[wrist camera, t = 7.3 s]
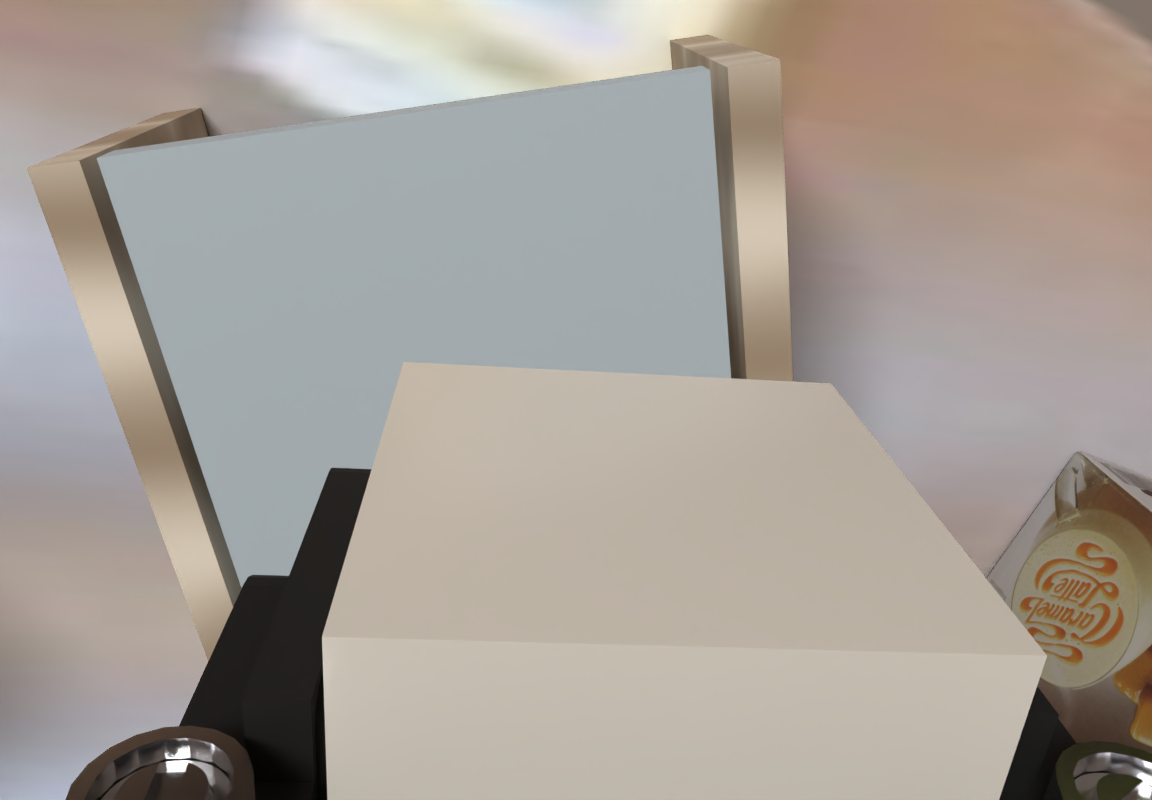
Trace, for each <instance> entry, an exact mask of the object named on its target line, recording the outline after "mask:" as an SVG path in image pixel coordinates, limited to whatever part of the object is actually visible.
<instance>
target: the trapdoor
mask: <svg viewBox="0 0 1152 800" xmlns="http://www.w3.org/2000/svg"><path fill="white" fill-rule="evenodd" d="M97 161H98V164H99V167H100V170H101V173H102V176H103V178H104V181H105V184H106V187H107V190H108V193H109V196H110V199H111V202H112V205H113V208H114V211H115V214H116V217H117V220H118V223H119V226H120V229H121V232H122V235H123V238H124V241H125V244H126V247H127V250H128V253H129V256H130V259H131V262H132V265H133V268H134V271H135V274H136V276H137V279H138V282H139V285H140V288H141V291H142V294H143V297H144V300H145V303H146V306H147V309H148V312H149V315H150V318H151V321H152V324H153V327H154V330H155V333H156V336H157V339H158V342H159V345H160V348H161V351H162V354H163V357H164V360H165V363H166V366H167V369H168V372H169V374H170V377H171V380H172V383H173V386H174V389H175V392H176V395H177V398H178V401H179V404H180V407H181V410H182V413H183V416H184V419H185V422H186V425H187V428H188V431H189V434H190V437H191V440H192V443H193V446H194V449H195V452H196V455H197V458H198V461H199V464H200V467H201V470H202V472H203V475H204V478H205V481H206V484H207V487H208V490H209V493H210V496H211V499H212V502H213V505H214V508H215V511H216V514H217V517H218V520H219V523H220V526H221V529H222V532H223V535H224V538H225V541H226V544H227V547H228V550H229V553H230V556H231V559H232V562H233V565H234V567H235V570H236V573H237V576H238V579H239V582H240V585H241V588H242V586H243V584H244V583H245V581H246V579H247V578H248V577H249V576H251V575H280V576H289V575H290V572H291V569H292V567H293V564H294V562H295V559H296V556H297V554H298V551H299V548H300V546H301V543H302V541H303V538H304V535H305V533H306V530H307V528H308V525H309V522H310V520H311V517H312V514H313V512H314V509H315V507H316V504H317V501H318V499H319V496H320V494H321V491H322V488H323V486H324V483H325V481H326V478H327V475H328V473H329V471H330V469H331V468H354V469H372V466H373V463H374V460H375V456H376V453H377V450H378V446H379V443H380V440H381V436H382V433H383V429H384V426H385V423H386V419H387V416H388V413H389V409H390V406H391V402H392V399H393V396H394V392H395V389H396V386H397V382H398V379H399V376H400V372H401V369H402V365H403V362H415V363H435V364H455V365H475V366H495V367H514V368H534V369H554V370H574V371H594V372H614V373H633V374H653V375H673V376H693V377H713V378H731V369H730V354H729V340H728V325H727V311H726V296H725V281H724V267H723V252H722V238H721V223H720V209H719V194H718V180H717V165H716V151H715V136H714V122H713V107H712V93H711V78H710V70H709V69H707V68H705V67H704V66H697V67H690V68H683V69H676V70H669V71H662V72H655V73H648V74H641V75H635V76H628V77H621V78H614V79H607V80H600V81H593V82H586V83H579V84H572V85H565V86H558V87H551V88H544V89H537V90H530V91H523V92H516V93H509V94H502V95H496V96H489V97H482V98H475V99H468V100H461V101H454V102H447V103H440V104H433V105H426V106H419V107H412V108H405V109H398V110H391V111H384V112H377V113H370V114H364V115H357V116H350V117H343V118H336V119H329V120H322V121H315V122H308V123H301V124H294V125H287V126H280V127H273V128H266V129H259V130H252V131H245V132H238V133H232V134H225V135H218V136H211V137H204V138H197V139H190V140H183V141H176V142H169V143H162V144H155V145H148V146H141V147H134V148H127V149H120V150H114V151H111V152H109V153H107V154H105V155H102V156H100V157H98V158H97Z"/></svg>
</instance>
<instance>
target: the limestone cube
mask: <svg viewBox="0 0 1152 800" xmlns="http://www.w3.org/2000/svg"><path fill="white" fill-rule="evenodd" d="M322 654H323V683H324V713H325V742H326V771H327V800H999V798H1000V795H1001V792H1002V789H1003V786H1004V783H1005V780H1006V777H1007V775H1008V772H1009V769H1010V766H1011V763H1012V760H1013V757H1014V754H1015V751H1016V748H1017V745H1018V742H1019V739H1020V736H1021V733H1022V730H1023V727H1024V724H1025V721H1026V718H1027V715H1028V712H1029V709H1030V706H1031V703H1032V700H1033V697H1034V694H1035V691H1036V688H1037V685H1038V682H1039V679H1040V676H1041V673H1042V670H1043V667H1044V664H1045V661H1046V658H1047V655H1046V654H1045V652H1044V651H1043V650H1042V648H1041V647H1040V646H1039V645H1038V643H1037V642H1036V641H1035V640H1034V638H1033V637H1032V636H1031V635H1030V633H1029V632H1028V631H1027V630H1026V628H1025V627H1024V626H1023V625H1022V623H1021V622H1020V621H1019V620H1018V618H1017V617H1016V616H1015V614H1014V613H1013V612H1012V611H1011V609H1010V608H1009V607H1008V606H1007V604H1006V603H1005V602H1004V601H1003V599H1002V598H1001V597H1000V596H999V594H998V593H997V592H996V591H995V589H994V588H993V587H992V586H991V584H990V583H989V582H988V580H987V579H986V578H985V577H984V575H983V574H982V573H981V572H980V570H979V569H978V568H977V567H976V565H975V564H974V563H973V562H972V560H971V559H970V558H969V557H968V555H967V554H966V553H965V552H964V550H963V549H962V548H961V547H960V545H959V544H958V543H957V541H956V540H955V539H954V538H953V536H952V535H951V534H950V533H949V531H948V530H947V529H946V528H945V526H944V525H943V524H942V523H941V521H940V520H939V519H938V518H937V516H936V515H935V514H934V513H933V511H932V510H931V509H930V507H929V506H928V505H927V504H926V502H925V501H924V500H923V499H922V497H921V496H920V495H919V494H918V492H917V491H916V490H915V489H914V487H913V486H912V485H911V484H910V482H909V481H908V480H907V479H906V477H905V476H904V475H903V473H902V472H901V471H900V470H899V468H898V467H897V466H896V465H895V463H894V462H893V461H892V460H891V458H890V457H889V456H888V455H887V453H886V452H885V451H884V450H883V448H882V447H881V446H880V445H879V443H878V442H877V441H876V439H875V438H874V437H873V436H872V434H871V433H870V432H869V431H868V429H867V428H866V427H865V426H864V424H863V423H862V422H861V421H860V419H859V418H858V417H857V416H856V414H855V413H854V412H853V411H852V409H851V408H850V407H849V406H848V404H847V403H846V402H845V400H844V399H843V398H842V397H841V395H840V394H839V393H838V392H837V390H836V389H835V388H834V387H833V385H832V384H831V383H812V382H792V381H772V380H753V379H733V378H713V377H693V376H673V375H653V374H633V373H614V372H594V371H574V370H554V369H534V368H514V367H495V366H475V365H455V364H435V363H415V362H403V365H402V369H401V372H400V376H399V379H398V382H397V386H396V389H395V392H394V396H393V399H392V402H391V406H390V409H389V413H388V416H387V419H386V423H385V426H384V429H383V433H382V436H381V440H380V443H379V446H378V450H377V453H376V456H375V460H374V463H373V466H372V470H371V473H370V477H369V480H368V483H367V487H366V490H365V493H364V497H363V500H362V503H361V507H360V510H359V514H358V517H357V520H356V524H355V527H354V530H353V534H352V537H351V541H350V544H349V547H348V551H347V554H346V557H345V561H344V564H343V567H342V571H341V574H340V578H339V581H338V584H337V588H336V591H335V594H334V598H333V601H332V605H331V608H330V611H329V615H328V618H327V621H326V625H325V628H324V631H323V635H322Z"/></svg>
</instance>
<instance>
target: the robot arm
mask: <svg viewBox="0 0 1152 800" xmlns="http://www.w3.org/2000/svg"><path fill="white" fill-rule="evenodd" d="M371 470H372V469H354V468H331V469H330V471H329V473H328V475H327V478H326V481H325V483H324V486H323V488H322V491H321V494H320V496H319V499H318V501H317V504H316V507H315V509H314V512H313V514H312V517H311V520H310V522H309V525H308V528H307V530H306V533H305V535H304V538H303V541H302V543H301V546H300V548H299V551H298V554H297V556H296V559H295V562H294V564H293V567H292V569H291V572H290V575H289V576H280V575H251V576H249V577H248V578H247V579H246V581H245V583H244V584H243V586H242V589H241V591H240V593H239V595H238V597H237V600H236V602H235V604H234V606H233V608H232V611H231V613H230V615H229V617H228V619H227V622H226V624H225V626H224V628H223V630H222V633H221V635H220V637H219V639H218V642H217V644H216V646H215V648H214V650H213V653H212V655H211V657H210V659H209V661H208V664H207V666H206V668H205V670H204V672H203V675H202V677H201V679H200V681H199V683H198V686H197V688H196V690H195V692H194V694H193V697H192V699H191V701H190V703H189V705H188V708H187V710H186V712H185V714H184V717H183V719H182V721H181V723H180V725H179V726H177V727H164V728H160V729H156V730H152V731H149V732H145V733H141V734H138V735H135V736H133V737H131V738H129V739H127V740H125V741H123V742H120V743H118V744H116V745H114V746H112V747H110V748H109V749H107V750H106V751H105V752H103V753H102V754H101V755H100V756H98V757H97V758H96V759H94V760H93V761H92V762H90V763H89V764H88V765H87V766H86V767H85V768H84V770H83V771H82V772H81V773H80V775H79V776H78V777H77V778H76V779H75V781H74V782H73V783H72V784H71V787H70V789H69V792H68V794H67V797H66V800H327V771H326V742H325V713H324V683H323V654H322V635H323V631H324V628H325V625H326V621H327V618H328V615H329V611H330V608H331V605H332V601H333V598H334V594H335V591H336V588H337V584H338V581H339V578H340V574H341V571H342V567H343V564H344V561H345V557H346V554H347V551H348V547H349V544H350V541H351V537H352V534H353V530H354V527H355V524H356V520H357V517H358V514H359V510H360V507H361V503H362V500H363V497H364V493H365V490H366V487H367V483H368V480H369V477H370V473H371ZM1058 717H1059V714H1058V713H1057V712H1056V710H1055V709H1054V708H1053V706H1052V705H1051V704H1050V702H1049V701H1048V700H1047V698H1046V697H1045V696H1044V694H1043V693H1042V692H1041V690H1040V689H1039V687H1038V686H1037V688H1036V691H1035V694H1034V697H1033V700H1032V703H1031V706H1030V709H1029V712H1028V715H1027V718H1026V721H1025V724H1024V727H1023V730H1022V733H1021V736H1020V739H1019V742H1018V745H1017V748H1016V751H1015V754H1014V757H1013V760H1012V763H1011V766H1010V769H1009V772H1008V775H1007V777H1006V780H1005V783H1004V786H1003V789H1002V792H1001V795H1000V798H999V800H1152V754H1151V753H1149V752H1147V751H1144V750H1141V749H1137V748H1134V747H1130V746H1127V745H1124V744H1120V743H1113V742H1104V741H1089V742H1082V743H1076V742H1075V740H1074V739H1073V738H1072V736H1071V735H1070V734H1069V732H1068V731H1067V730H1066V728H1065V727H1064V725H1063V724H1062V723H1061V721H1060V720H1059V719H1058Z"/></svg>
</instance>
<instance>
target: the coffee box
mask: <svg viewBox="0 0 1152 800" xmlns="http://www.w3.org/2000/svg"><path fill="white" fill-rule="evenodd" d="M986 579H987V580H988V582H989V583H990V584H991V586H992V587H993V588H994V589H995V591H996V592H997V593H998V594H999V596H1000V597H1001V598H1002V599H1003V601H1004V602H1005V603H1006V604H1007V606H1008V607H1009V608H1010V609H1011V611H1012V612H1013V613H1014V614H1015V616H1016V617H1017V618H1018V620H1019V621H1020V622H1021V623H1022V625H1023V626H1024V627H1025V628H1026V630H1027V631H1028V632H1029V633H1030V635H1031V636H1032V637H1033V638H1034V640H1035V641H1036V642H1037V643H1038V645H1039V646H1040V647H1041V648H1042V650H1043V651H1044V652H1045V654H1046V655H1047V658H1046V661H1045V664H1044V667H1043V670H1042V673H1041V676H1040V679H1039V682H1038V685H1037V686H1038V687H1039V689H1040V690H1041V692H1042V693H1043V694H1044V696H1045V697H1046V698H1047V700H1048V701H1049V702H1050V704H1051V705H1052V706H1053V708H1054V709H1055V710H1056V712H1057V713H1058V714H1059V717H1058V719H1059V720H1060V721H1061V723H1062V724H1063V725H1064V727H1065V728H1066V730H1067V731H1068V732H1069V734H1070V735H1071V736H1072V738H1073V739H1074V740H1075V742H1076V743H1082V742H1089V741H1104V742H1113V743H1120V744H1124V745H1127V746H1130V747H1134V748H1137V749H1141V750H1144V751H1147V752H1149V753H1151V754H1152V479H1151V478H1148V477H1146V476H1143V475H1141V474H1138V473H1136V472H1133V471H1131V470H1128V469H1126V468H1123V467H1120V466H1118V465H1115V464H1112V463H1110V462H1107V461H1104V460H1102V459H1099V458H1097V457H1094V456H1091V455H1089V454H1086V453H1084V452H1077V453H1075V454H1074V455H1073V457H1072V458H1071V460H1070V461H1069V462H1068V464H1067V465H1066V466H1065V468H1064V469H1063V471H1062V472H1061V473H1060V475H1059V476H1058V478H1057V479H1056V481H1055V482H1054V484H1053V485H1052V487H1051V488H1050V489H1049V491H1048V492H1047V494H1046V495H1045V496H1044V498H1043V499H1042V501H1041V502H1040V503H1039V505H1038V506H1037V508H1036V509H1035V510H1034V512H1033V513H1032V515H1031V516H1030V518H1029V519H1028V520H1027V522H1026V523H1025V525H1024V526H1023V527H1022V529H1021V530H1020V532H1019V533H1018V535H1017V536H1016V537H1015V539H1014V540H1013V542H1012V543H1011V544H1010V546H1009V547H1008V549H1007V550H1006V551H1005V553H1004V554H1003V556H1002V557H1001V559H1000V560H999V561H998V563H997V564H996V566H995V567H994V568H993V570H992V571H991V573H990V574H989V576H988V577H987V578H986Z"/></svg>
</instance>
